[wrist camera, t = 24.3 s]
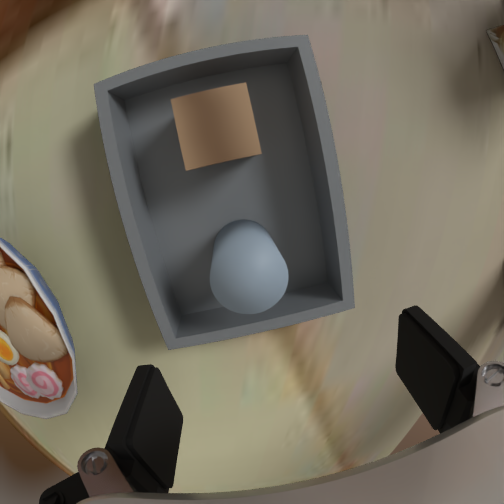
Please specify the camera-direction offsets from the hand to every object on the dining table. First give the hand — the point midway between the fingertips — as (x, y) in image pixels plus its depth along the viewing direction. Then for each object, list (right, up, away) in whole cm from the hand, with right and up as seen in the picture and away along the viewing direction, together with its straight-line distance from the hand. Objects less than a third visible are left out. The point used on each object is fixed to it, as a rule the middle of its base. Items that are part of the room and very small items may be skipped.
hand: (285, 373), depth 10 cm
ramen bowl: (-28, -2, +16) cm, 33 cm away
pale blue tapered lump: (-2, +5, +15) cm, 16 cm away
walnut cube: (-4, +14, +12) cm, 19 cm away
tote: (-3, +10, +15) cm, 18 cm away
